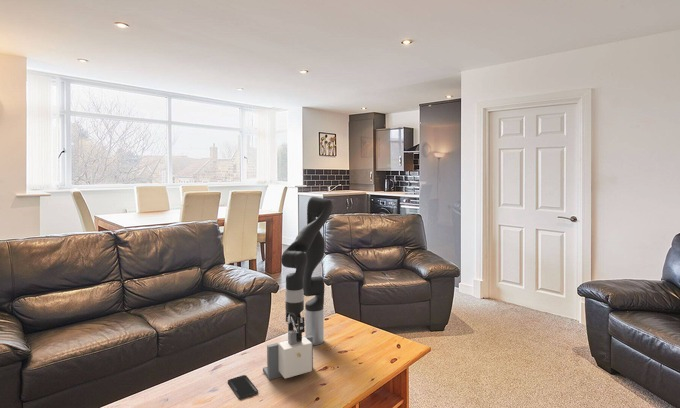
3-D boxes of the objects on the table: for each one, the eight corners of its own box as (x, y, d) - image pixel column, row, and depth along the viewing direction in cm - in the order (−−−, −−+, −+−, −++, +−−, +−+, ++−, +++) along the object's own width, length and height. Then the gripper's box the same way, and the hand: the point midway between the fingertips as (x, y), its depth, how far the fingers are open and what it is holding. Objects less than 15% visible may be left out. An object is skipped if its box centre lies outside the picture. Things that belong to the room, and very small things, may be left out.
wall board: (262, 371, 160) (262, 339, 159) (305, 359, 170) (305, 330, 169) (272, 385, 150) (272, 351, 148) (317, 372, 159) (317, 340, 158)
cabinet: (278, 370, 155) (278, 331, 154) (304, 363, 161) (304, 325, 160) (285, 379, 148) (285, 338, 147) (312, 372, 154) (312, 332, 153)
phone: (245, 374, 156) (259, 391, 144) (245, 377, 156) (259, 394, 144) (226, 380, 152) (239, 398, 139) (226, 382, 152) (239, 401, 140)
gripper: (310, 302, 148) (310, 342, 149) (296, 292, 161) (296, 329, 162) (292, 305, 145) (293, 346, 146) (279, 295, 157) (280, 332, 158)
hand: (294, 337), depth 154 cm, fingers open, 8 cm apart
